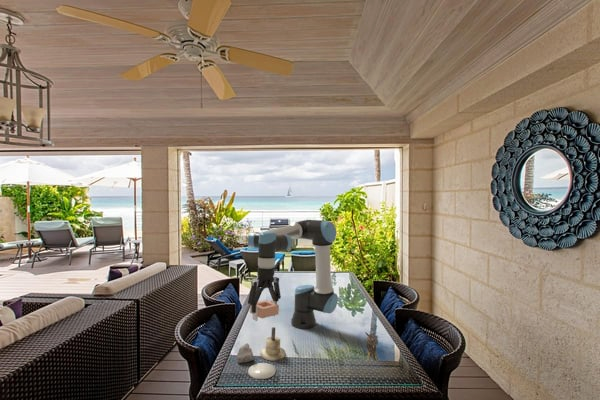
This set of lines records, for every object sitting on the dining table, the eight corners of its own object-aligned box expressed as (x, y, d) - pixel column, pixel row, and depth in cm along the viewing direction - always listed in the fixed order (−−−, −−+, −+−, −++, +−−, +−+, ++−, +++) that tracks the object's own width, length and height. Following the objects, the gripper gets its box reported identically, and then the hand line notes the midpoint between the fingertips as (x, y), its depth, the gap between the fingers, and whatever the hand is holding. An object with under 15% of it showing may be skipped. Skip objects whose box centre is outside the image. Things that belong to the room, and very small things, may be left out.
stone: (236, 365, 145) (236, 352, 145) (236, 354, 155) (236, 342, 155) (254, 363, 147) (254, 350, 147) (253, 353, 156) (253, 341, 156)
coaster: (264, 361, 149) (264, 360, 149) (281, 372, 140) (281, 371, 140) (242, 370, 140) (242, 369, 140) (258, 382, 132) (258, 381, 132)
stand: (274, 346, 164) (275, 321, 164) (289, 355, 155) (290, 328, 155) (255, 353, 156) (256, 327, 156) (270, 363, 147) (271, 335, 147)
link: (266, 308, 148) (266, 300, 148) (278, 314, 141) (278, 305, 141) (250, 312, 142) (250, 303, 142) (261, 318, 135) (262, 309, 135)
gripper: (279, 262, 152) (277, 310, 151) (240, 267, 137) (238, 320, 137) (290, 265, 146) (288, 314, 146) (250, 271, 131) (248, 325, 131)
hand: (264, 317), depth 141 cm, fingers closed on link, 9 cm apart
